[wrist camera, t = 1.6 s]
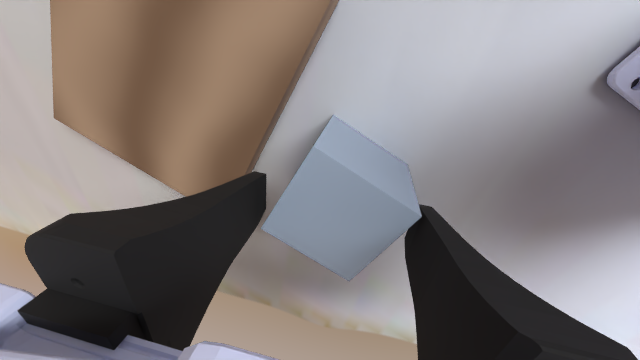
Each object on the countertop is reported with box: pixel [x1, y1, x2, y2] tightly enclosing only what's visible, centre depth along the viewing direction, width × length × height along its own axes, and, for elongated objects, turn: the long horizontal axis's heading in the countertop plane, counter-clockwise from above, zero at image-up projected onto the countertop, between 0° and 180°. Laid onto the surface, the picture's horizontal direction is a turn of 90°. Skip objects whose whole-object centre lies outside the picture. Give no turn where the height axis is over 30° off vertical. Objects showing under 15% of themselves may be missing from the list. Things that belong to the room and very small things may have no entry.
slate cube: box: [261, 115, 422, 281], centre depth 13 cm, size 5×5×5 cm
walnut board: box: [50, 0, 339, 197], centre depth 13 cm, size 12×14×2 cm
